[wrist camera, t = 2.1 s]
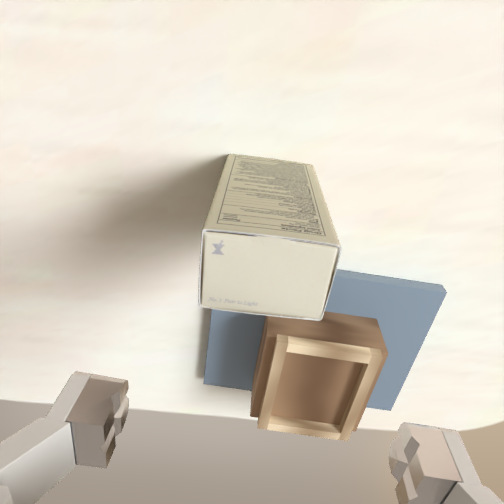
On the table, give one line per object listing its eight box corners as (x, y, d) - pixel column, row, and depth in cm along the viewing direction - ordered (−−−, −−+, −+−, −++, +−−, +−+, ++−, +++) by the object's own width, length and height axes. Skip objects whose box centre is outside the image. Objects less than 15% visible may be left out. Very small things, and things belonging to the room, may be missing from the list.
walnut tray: (252, 381, 37) (249, 427, 33) (268, 299, 32) (267, 340, 28) (347, 395, 37) (356, 442, 33) (377, 315, 32) (392, 358, 28)
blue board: (205, 375, 38) (203, 383, 37) (219, 251, 31) (217, 258, 30) (388, 402, 38) (390, 410, 38) (442, 285, 32) (446, 292, 31)
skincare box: (222, 208, 29) (191, 309, 19) (228, 149, 27) (196, 226, 17) (306, 219, 29) (322, 326, 19) (318, 161, 27) (344, 246, 17)
